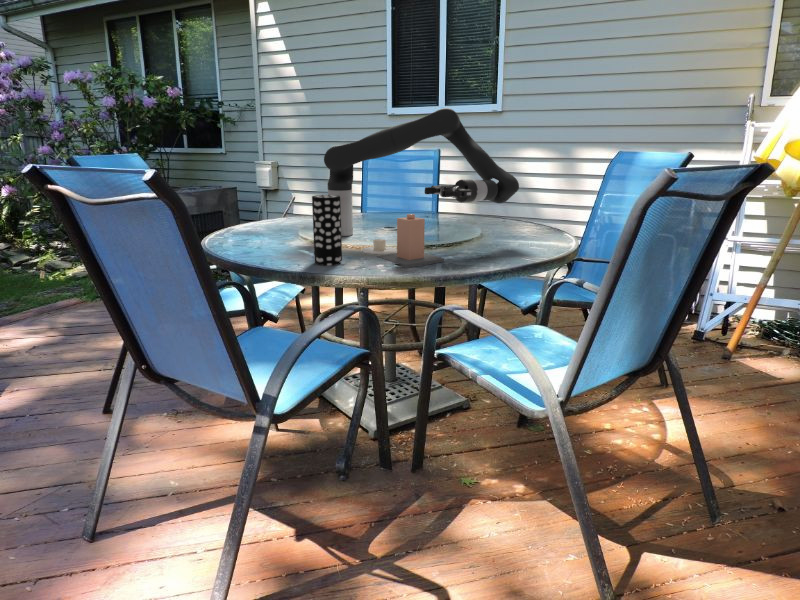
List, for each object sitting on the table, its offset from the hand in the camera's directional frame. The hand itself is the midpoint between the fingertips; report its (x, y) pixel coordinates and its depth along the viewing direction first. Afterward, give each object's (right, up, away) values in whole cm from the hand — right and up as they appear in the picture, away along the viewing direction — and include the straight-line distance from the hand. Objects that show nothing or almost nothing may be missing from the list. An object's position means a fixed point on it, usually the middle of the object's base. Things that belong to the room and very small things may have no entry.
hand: (433, 192), depth 180 cm
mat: (-8, -22, -6) cm, 24 cm away
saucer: (-18, -19, +6) cm, 26 cm away
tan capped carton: (-8, -21, -6) cm, 23 cm away
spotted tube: (-33, -23, -9) cm, 41 cm away
